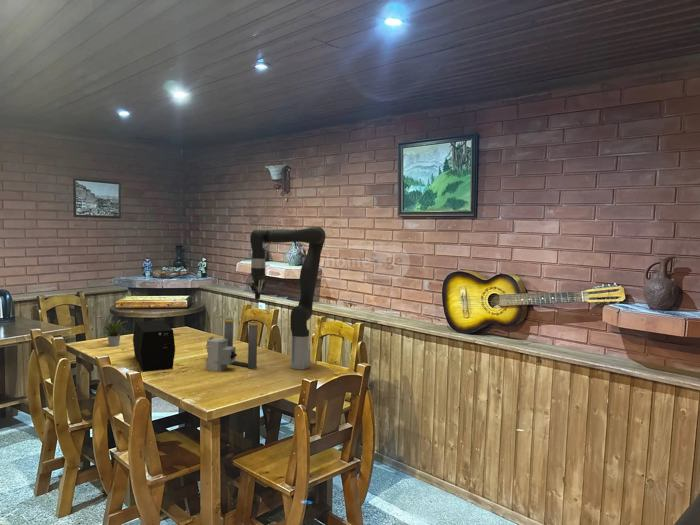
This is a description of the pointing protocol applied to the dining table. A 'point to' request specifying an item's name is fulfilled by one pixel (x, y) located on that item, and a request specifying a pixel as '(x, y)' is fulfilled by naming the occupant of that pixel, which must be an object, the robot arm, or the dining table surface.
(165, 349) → the uninterruptible power supply
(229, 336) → the far cord post
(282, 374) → the dining table surface
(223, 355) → the circuit breaker
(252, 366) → the post
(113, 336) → the house plant
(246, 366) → the floor cable
